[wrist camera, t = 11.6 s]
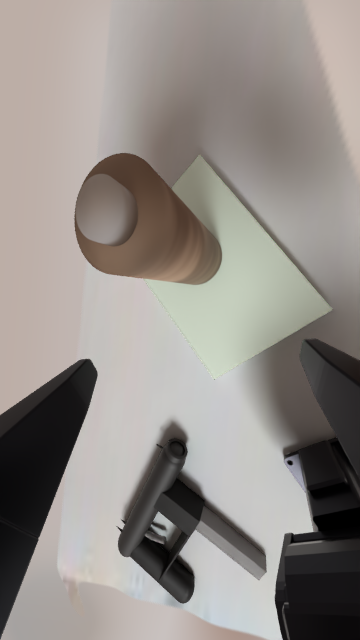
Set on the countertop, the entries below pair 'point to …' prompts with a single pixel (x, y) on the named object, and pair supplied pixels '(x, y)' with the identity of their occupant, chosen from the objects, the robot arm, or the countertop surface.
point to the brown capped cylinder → (141, 226)
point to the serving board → (235, 282)
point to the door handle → (186, 515)
